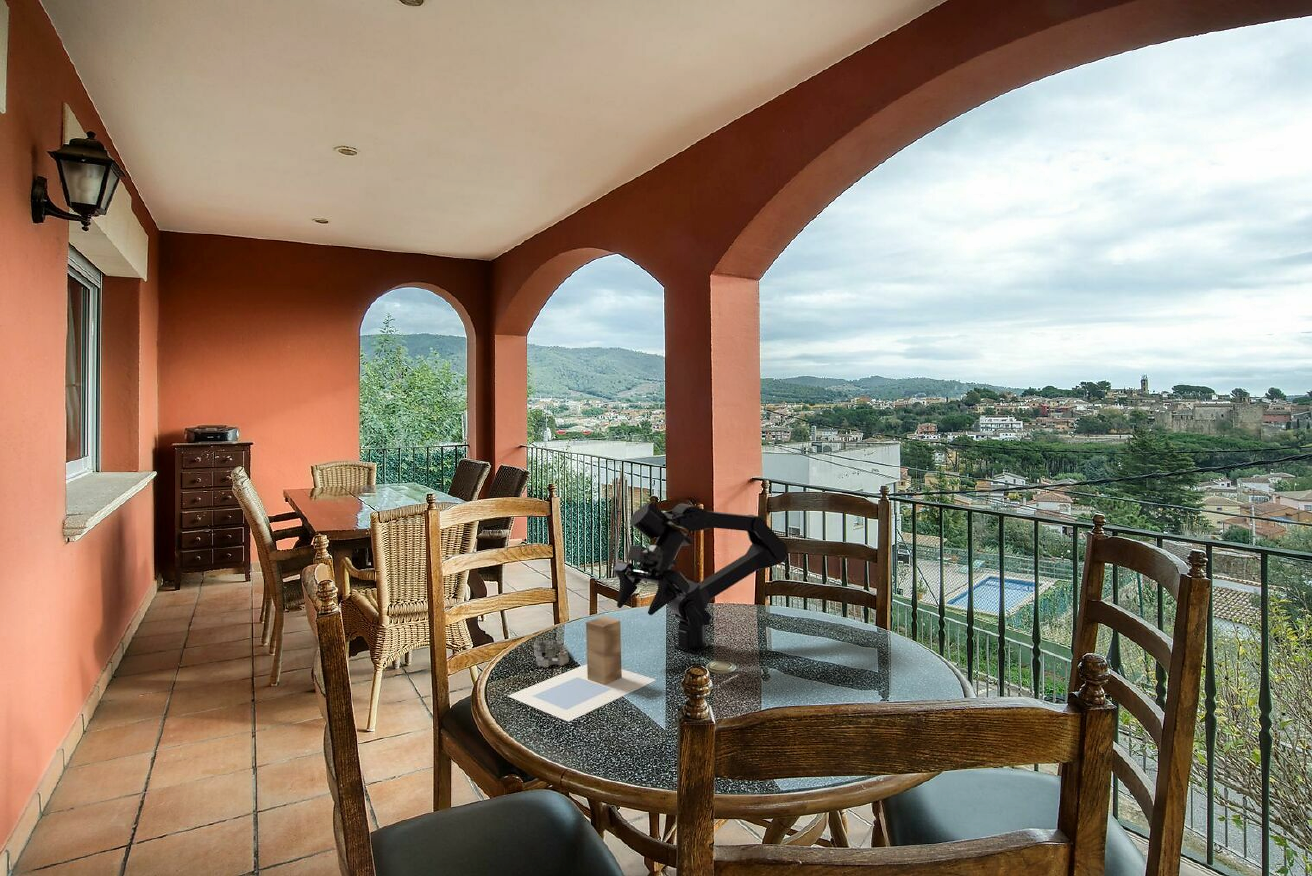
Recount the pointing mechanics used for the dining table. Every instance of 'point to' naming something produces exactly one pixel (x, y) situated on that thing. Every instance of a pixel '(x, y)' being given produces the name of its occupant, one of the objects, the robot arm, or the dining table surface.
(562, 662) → the egg carton
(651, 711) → the dining table surface
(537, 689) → the mat
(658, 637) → the dining table surface
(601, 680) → the oak block
